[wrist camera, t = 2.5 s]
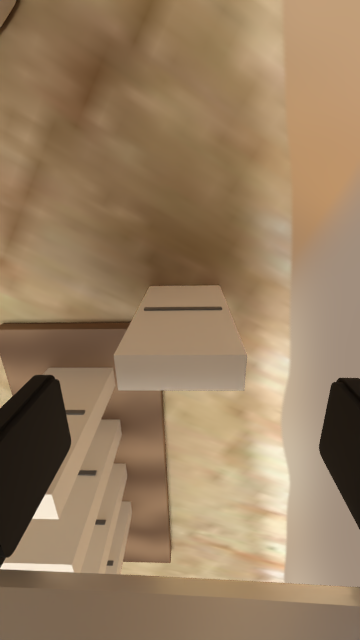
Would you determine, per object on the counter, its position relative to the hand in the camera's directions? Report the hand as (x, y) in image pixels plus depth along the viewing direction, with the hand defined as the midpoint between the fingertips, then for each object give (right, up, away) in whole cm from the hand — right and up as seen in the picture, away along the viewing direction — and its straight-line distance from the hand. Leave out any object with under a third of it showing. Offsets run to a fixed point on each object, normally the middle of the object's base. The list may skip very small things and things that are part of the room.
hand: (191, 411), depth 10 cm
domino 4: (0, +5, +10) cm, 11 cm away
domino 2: (-8, -6, +14) cm, 17 cm away
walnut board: (-8, -10, +17) cm, 21 cm away
